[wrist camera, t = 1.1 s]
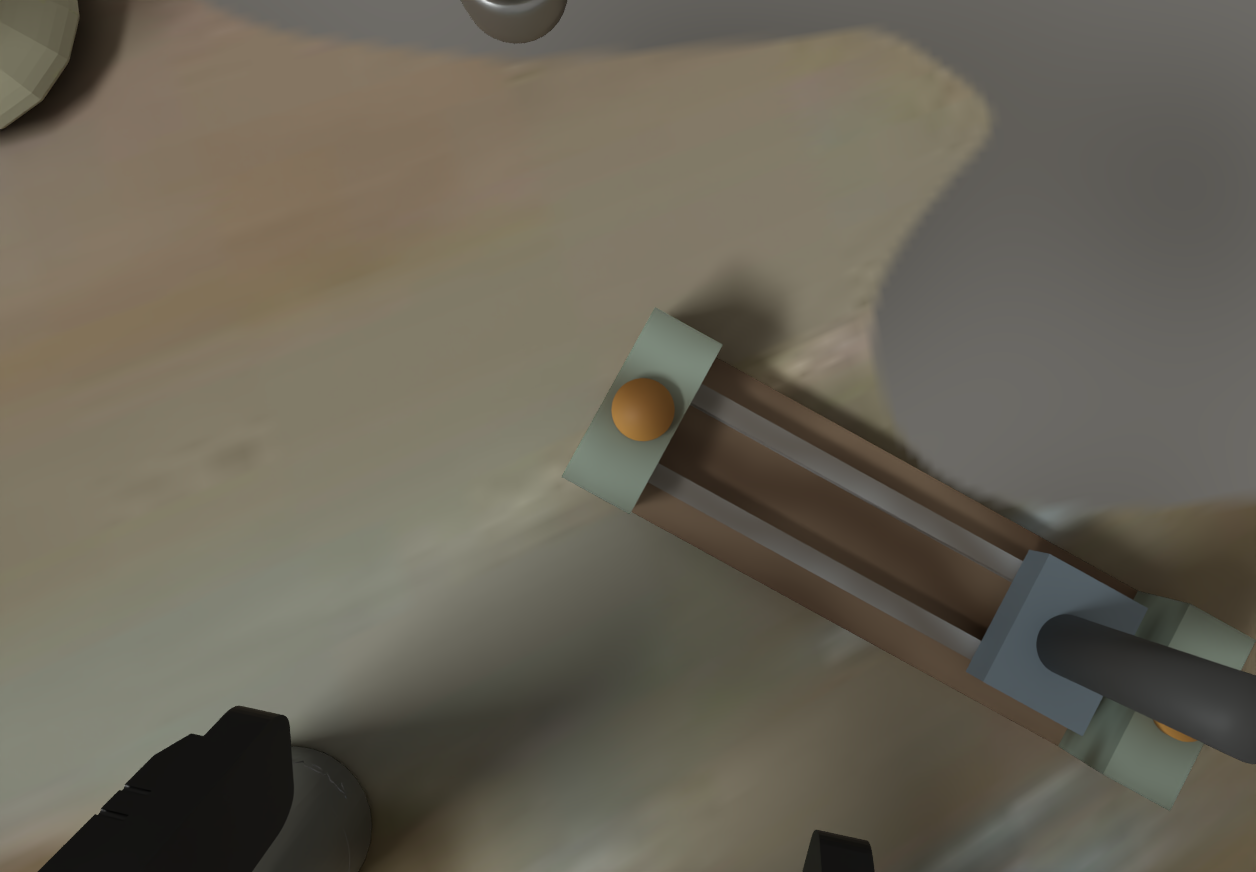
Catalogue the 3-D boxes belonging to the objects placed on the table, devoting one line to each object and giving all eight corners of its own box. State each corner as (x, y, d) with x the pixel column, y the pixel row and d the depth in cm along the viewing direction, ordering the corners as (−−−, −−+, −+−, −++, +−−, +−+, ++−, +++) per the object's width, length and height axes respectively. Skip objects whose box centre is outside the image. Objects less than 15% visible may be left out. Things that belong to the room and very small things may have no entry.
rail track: (1102, 769, 46) (1178, 816, 40) (566, 474, 46) (560, 477, 40) (1178, 619, 47) (1265, 642, 41) (648, 325, 46) (655, 304, 40)
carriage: (1060, 723, 43) (1279, 850, 29) (965, 671, 43) (1140, 773, 29) (1123, 601, 43) (1370, 668, 30) (1029, 549, 43) (1232, 592, 29)
